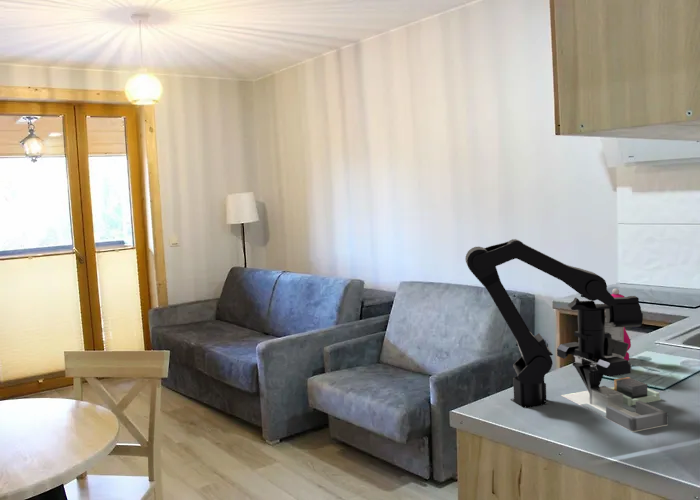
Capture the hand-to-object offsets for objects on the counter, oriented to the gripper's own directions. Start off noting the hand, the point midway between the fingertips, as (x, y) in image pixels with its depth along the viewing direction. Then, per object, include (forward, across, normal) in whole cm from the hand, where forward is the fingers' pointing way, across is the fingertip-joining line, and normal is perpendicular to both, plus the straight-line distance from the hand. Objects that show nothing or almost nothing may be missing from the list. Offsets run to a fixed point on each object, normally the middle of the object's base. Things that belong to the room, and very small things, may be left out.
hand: (593, 394), depth 144 cm
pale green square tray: (+2, -2, -9) cm, 9 cm away
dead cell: (+1, -4, 0) cm, 5 cm away
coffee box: (+2, +17, -18) cm, 25 cm away
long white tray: (+2, -6, 0) cm, 6 cm away
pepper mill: (+2, +25, -27) cm, 37 cm away
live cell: (+1, -2, -9) cm, 9 cm away
